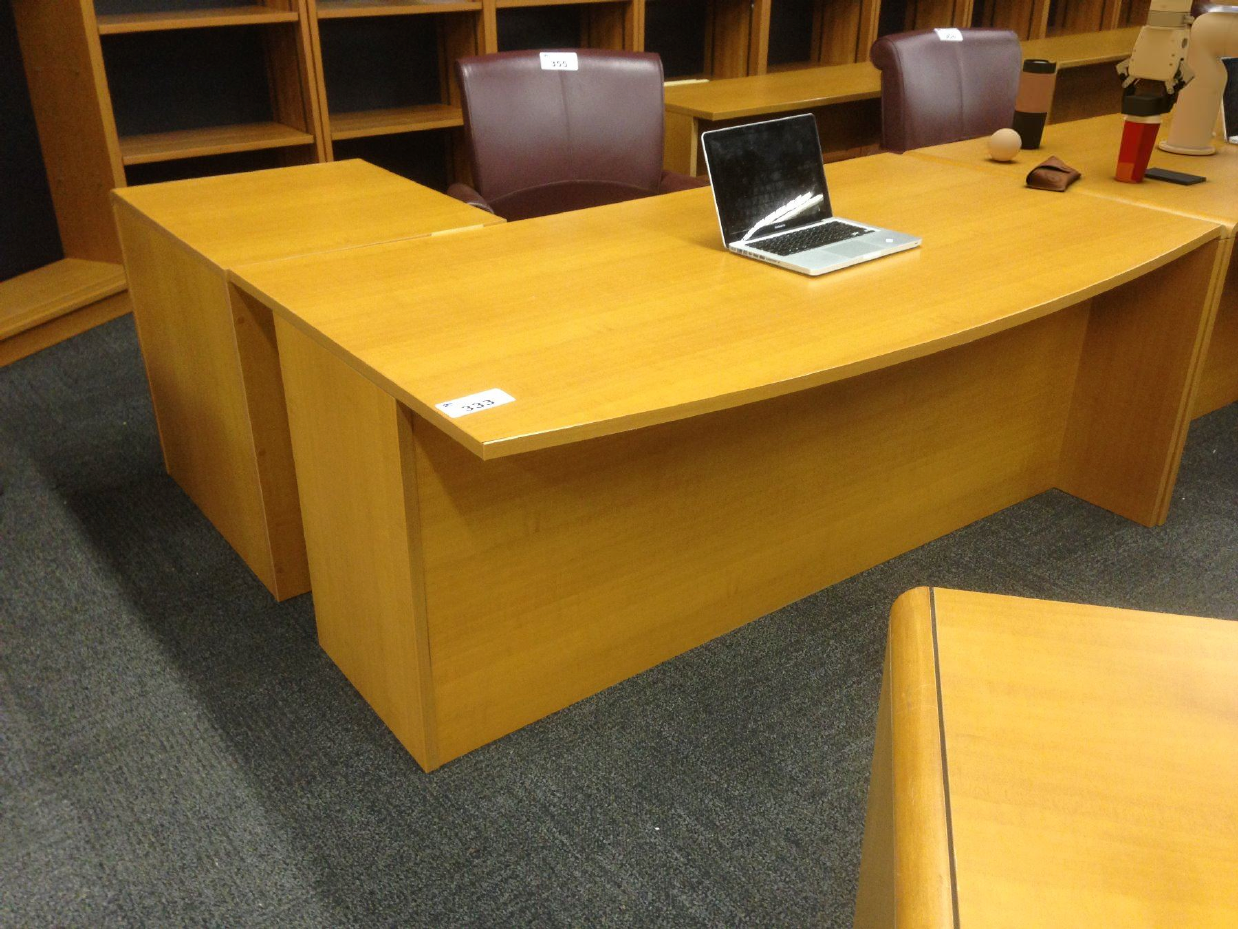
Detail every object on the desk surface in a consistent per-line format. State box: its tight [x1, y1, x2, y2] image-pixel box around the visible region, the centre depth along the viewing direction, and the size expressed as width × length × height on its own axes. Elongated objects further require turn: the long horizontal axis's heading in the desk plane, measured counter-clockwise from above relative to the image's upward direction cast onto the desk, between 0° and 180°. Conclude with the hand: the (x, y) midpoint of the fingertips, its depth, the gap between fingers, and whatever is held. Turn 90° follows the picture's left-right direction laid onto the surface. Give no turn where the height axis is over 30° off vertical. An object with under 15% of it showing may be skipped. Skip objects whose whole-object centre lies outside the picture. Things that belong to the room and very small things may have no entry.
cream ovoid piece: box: [987, 128, 1022, 162], centre depth 244 cm, size 10×7×7 cm
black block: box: [1120, 92, 1164, 117], centre depth 222 cm, size 10×5×4 cm, turn 127°
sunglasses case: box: [1025, 155, 1082, 192], centre depth 226 cm, size 18×7×7 cm, turn 149°
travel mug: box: [1011, 58, 1058, 150], centre depth 256 cm, size 8×8×20 cm
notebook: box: [1144, 166, 1207, 186], centre depth 232 cm, size 8×12×1 cm, turn 37°
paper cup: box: [1114, 114, 1164, 184], centre depth 226 cm, size 8×8×14 cm
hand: (1145, 109), depth 222 cm, fingers open, 8 cm apart
